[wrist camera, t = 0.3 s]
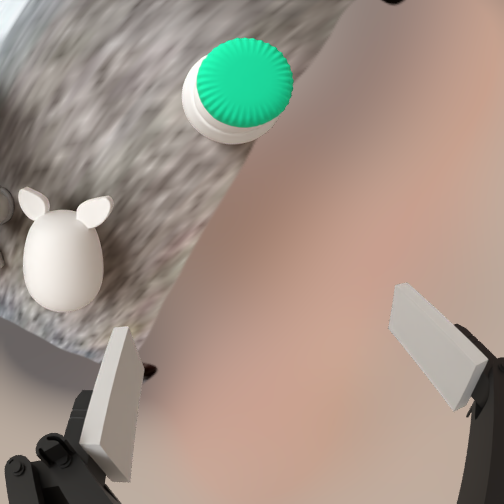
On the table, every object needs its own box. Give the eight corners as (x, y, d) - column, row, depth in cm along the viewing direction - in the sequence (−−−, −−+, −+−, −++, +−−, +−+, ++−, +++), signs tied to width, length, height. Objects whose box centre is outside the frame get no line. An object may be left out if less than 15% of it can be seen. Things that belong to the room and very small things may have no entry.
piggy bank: (104, 286, 44) (112, 186, 40) (108, 329, 34) (115, 202, 30) (27, 282, 38) (28, 180, 34) (12, 325, 28) (4, 195, 24)
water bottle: (198, 144, 37) (190, 168, 14) (185, 90, 34) (158, 29, 11) (254, 131, 38) (333, 137, 15) (242, 77, 35) (304, 6, 12)
